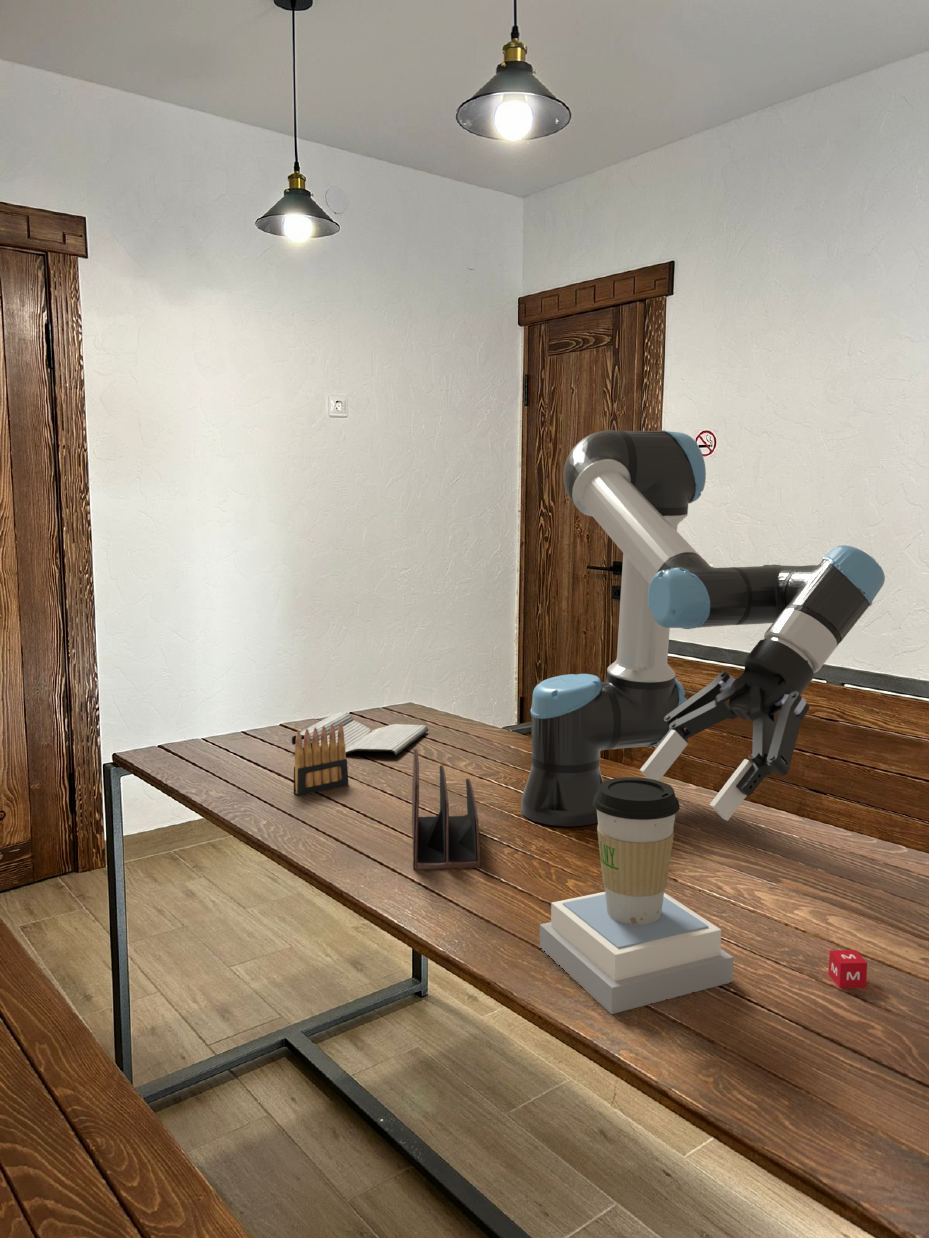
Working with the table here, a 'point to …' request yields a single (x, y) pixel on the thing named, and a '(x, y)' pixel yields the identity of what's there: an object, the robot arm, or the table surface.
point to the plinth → (637, 984)
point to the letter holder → (444, 831)
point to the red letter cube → (847, 968)
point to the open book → (377, 740)
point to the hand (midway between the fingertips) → (680, 794)
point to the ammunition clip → (320, 762)
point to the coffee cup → (635, 845)
